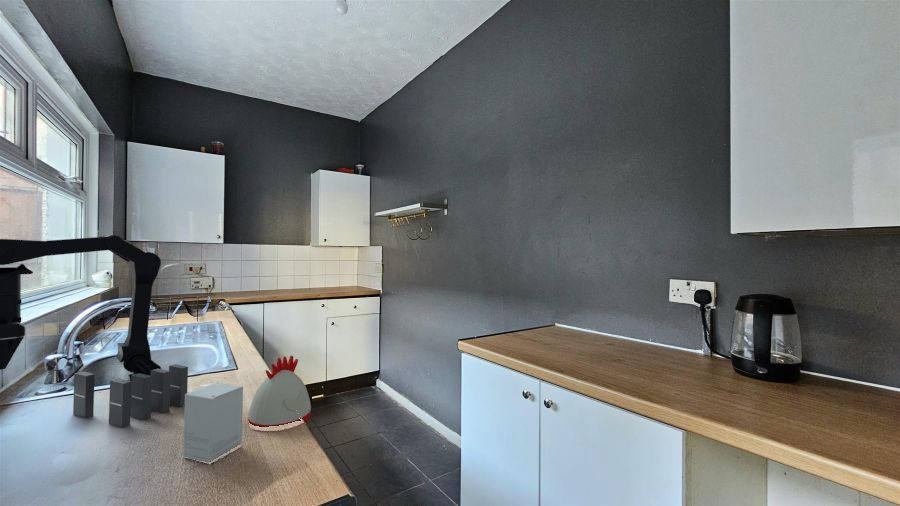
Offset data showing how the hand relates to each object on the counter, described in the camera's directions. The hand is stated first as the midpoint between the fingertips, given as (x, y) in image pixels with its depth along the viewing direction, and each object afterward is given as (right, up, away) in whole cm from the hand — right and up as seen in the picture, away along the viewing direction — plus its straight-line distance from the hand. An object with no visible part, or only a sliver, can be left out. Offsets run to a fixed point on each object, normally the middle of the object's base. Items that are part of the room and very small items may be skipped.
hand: (0, 365), depth 82 cm
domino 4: (+27, -15, +10) cm, 33 cm away
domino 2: (+24, -15, +3) cm, 28 cm away
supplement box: (+53, -15, -8) cm, 56 cm away
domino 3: (+26, -15, +7) cm, 30 cm away
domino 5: (+29, -15, +14) cm, 35 cm away
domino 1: (+11, -14, +7) cm, 20 cm away
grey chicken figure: (+59, -16, +8) cm, 61 cm away
